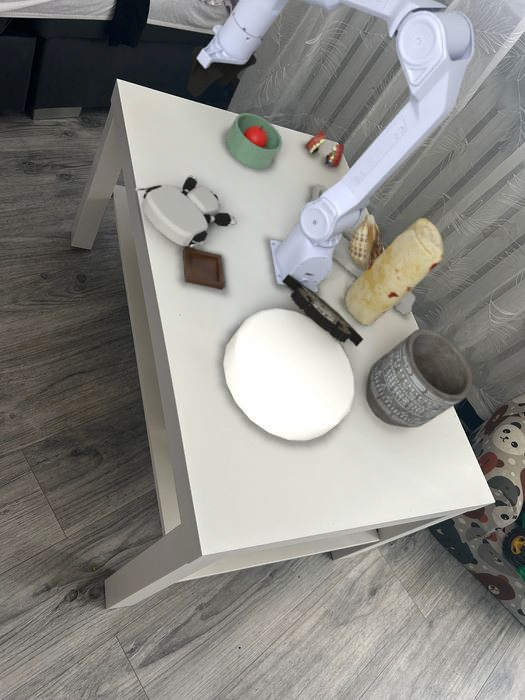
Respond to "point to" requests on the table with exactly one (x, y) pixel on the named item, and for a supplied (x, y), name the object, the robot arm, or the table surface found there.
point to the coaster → (203, 268)
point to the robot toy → (183, 212)
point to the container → (289, 374)
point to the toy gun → (345, 259)
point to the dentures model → (333, 157)
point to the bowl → (245, 148)
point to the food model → (395, 272)
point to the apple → (256, 135)
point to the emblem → (321, 312)
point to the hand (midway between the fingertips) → (205, 87)
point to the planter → (418, 380)
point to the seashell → (365, 243)
